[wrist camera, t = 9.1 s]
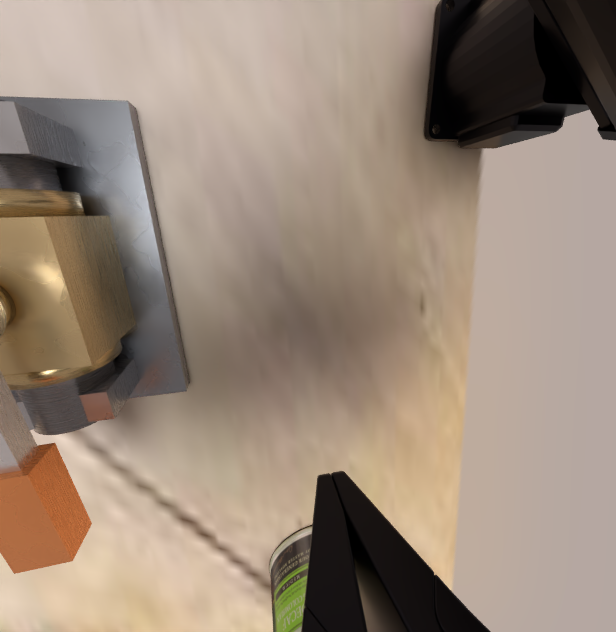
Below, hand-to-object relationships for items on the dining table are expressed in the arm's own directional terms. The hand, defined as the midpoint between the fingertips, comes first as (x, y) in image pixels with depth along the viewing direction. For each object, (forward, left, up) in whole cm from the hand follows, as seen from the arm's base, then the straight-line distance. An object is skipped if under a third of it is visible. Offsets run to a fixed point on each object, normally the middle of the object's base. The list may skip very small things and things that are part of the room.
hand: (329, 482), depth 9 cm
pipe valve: (-5, -12, -12) cm, 18 cm away
